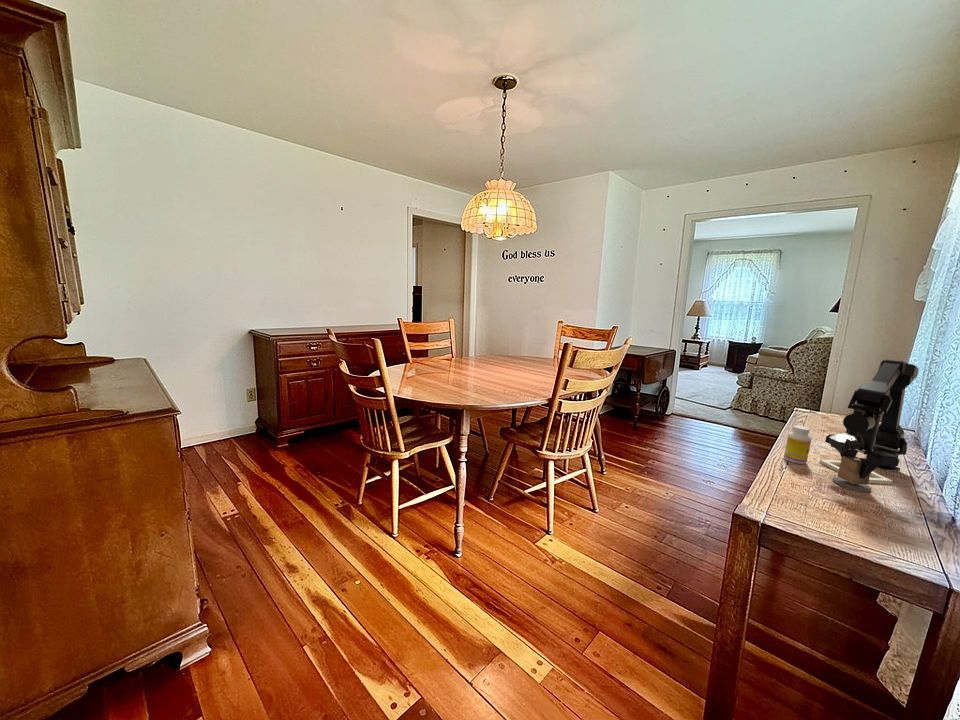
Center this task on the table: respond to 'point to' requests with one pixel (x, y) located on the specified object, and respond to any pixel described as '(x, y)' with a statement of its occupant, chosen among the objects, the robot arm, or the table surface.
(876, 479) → the pocket frame
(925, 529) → the table surface
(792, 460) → the supplement bottle
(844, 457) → the block
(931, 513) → the table surface
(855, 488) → the coaster
